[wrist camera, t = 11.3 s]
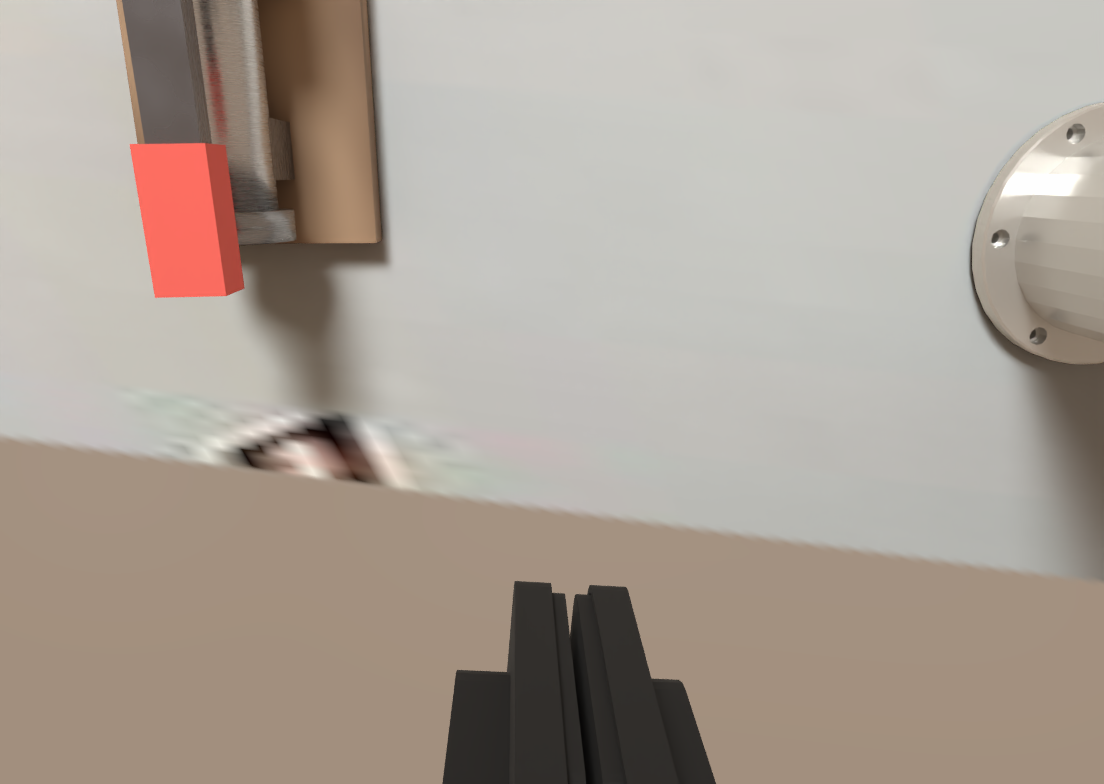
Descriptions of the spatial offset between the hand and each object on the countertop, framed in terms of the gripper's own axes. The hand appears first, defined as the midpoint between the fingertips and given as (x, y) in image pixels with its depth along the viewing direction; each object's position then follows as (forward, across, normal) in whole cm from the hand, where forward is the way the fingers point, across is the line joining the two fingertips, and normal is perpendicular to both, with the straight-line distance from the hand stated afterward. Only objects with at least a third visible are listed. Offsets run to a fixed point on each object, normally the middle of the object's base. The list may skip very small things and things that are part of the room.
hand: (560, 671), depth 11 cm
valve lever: (+18, +13, -10) cm, 24 cm away
